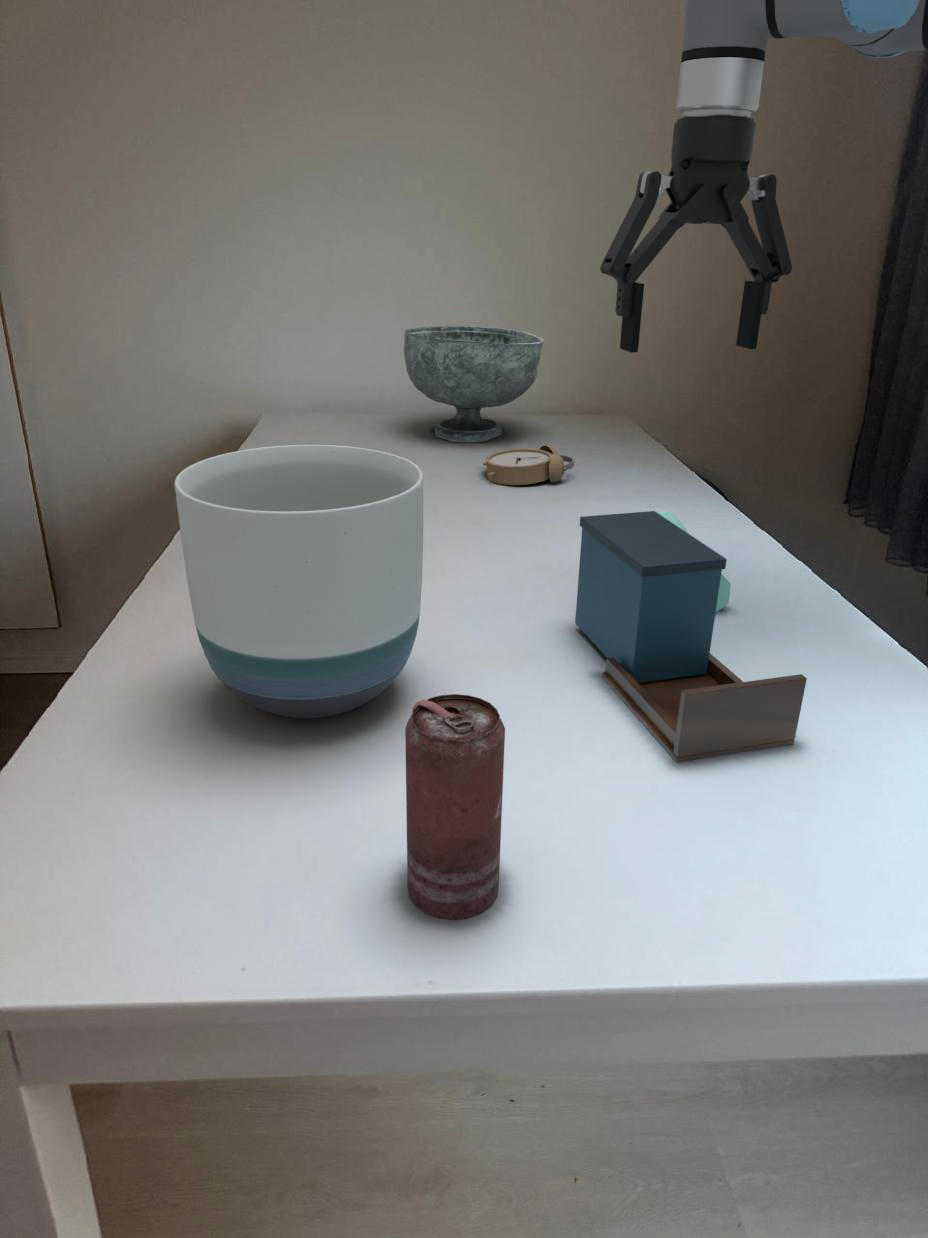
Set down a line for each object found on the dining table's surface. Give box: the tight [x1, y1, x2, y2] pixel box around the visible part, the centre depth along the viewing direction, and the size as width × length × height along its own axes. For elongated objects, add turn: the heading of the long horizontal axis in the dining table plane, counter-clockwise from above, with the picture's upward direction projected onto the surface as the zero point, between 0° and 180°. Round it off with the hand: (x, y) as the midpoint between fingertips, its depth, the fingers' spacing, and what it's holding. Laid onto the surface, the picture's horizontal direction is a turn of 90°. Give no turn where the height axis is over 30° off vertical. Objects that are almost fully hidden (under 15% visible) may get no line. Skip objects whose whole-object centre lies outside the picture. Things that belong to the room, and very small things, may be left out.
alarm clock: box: [482, 444, 575, 486], centre depth 152 cm, size 11×5×15 cm
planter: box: [174, 444, 424, 719], centre depth 80 cm, size 20×20×21 cm
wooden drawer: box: [600, 653, 808, 764], centre depth 82 cm, size 15×11×7 cm
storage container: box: [574, 510, 727, 683], centre depth 90 cm, size 14×8×12 cm, turn 16°
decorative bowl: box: [403, 325, 544, 443], centre depth 176 cm, size 26×26×20 cm
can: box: [404, 693, 506, 921], centre depth 58 cm, size 6×6×14 cm
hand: (688, 349), depth 94 cm, fingers open, 13 cm apart
